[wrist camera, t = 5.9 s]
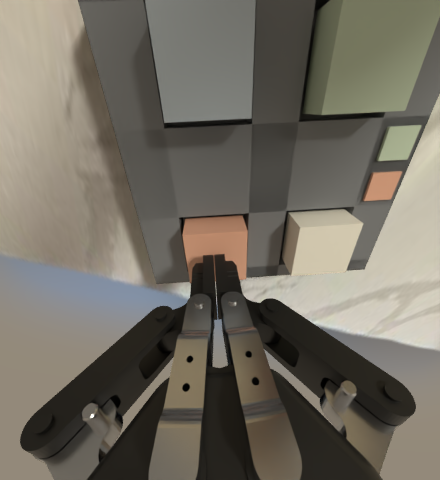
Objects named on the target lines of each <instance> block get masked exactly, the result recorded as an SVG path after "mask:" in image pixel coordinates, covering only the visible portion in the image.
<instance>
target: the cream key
mask: <svg viewBox="0 0 440 480" xmlns="http://www.w3.org/2000/svg"><path fill="white" fill-rule="evenodd" d="M363 224H364V223H362V222H361V221H359V220H358V219H357V218H355V217H354V216H353V215H351V214H350V213H349V212H347V211H346V210H345V209H329V210H313V211H297V212H288V216H287V223H286V230H285V237H284V244H283V250H282V259H283V261H284V263H285V265H286V267H287V269H288V271H289V273H290V275H291V276H300V275H314V274H328V273H342V272H346V270H347V267H348V264H349V262H350V259H351V256H352V254H353V251H354V248H355V245H356V243H357V240H358V237H359V235H360V232H361V229H362V226H363Z"/></svg>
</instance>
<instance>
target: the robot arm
mask: <svg viewBox="0 0 440 480" xmlns="http://www.w3.org/2000/svg"><path fill="white" fill-rule="evenodd" d="M214 259H215V273H214ZM215 275H216V289H215ZM216 290H217V305H218V318H219V319H222V331H223V337H224V343H225V349H226V356H227V362H228V366H225V367H223V368H215V367H213V339H214V320H217V305H216ZM264 349H265V350H266V351H267V352H268V353H270V354H271V355H272V356H273V357H274V358H275V359H276V360H277V361H278V362H280V363H281V364H282V365H283V366H284V367H285V368H286V369H287V370H289V371H290V372H291V373H292V374H293V375H294V376H295V377H296V378H298V379H299V380H300V381H301V382H302V383H303V384H304V385H306V386H307V387H308V388H309V389H310V390H311V391H312V392H313V393H314V394H316V395H317V396H318V397H319V398H320V406H321V409H322V411H323V413H324V415H325V416H326V418H327V419H328V420H329V421H330V422H331V423H332V424H331V423H330V422H329V421H328V420H327V419H326V418H324V416H323V415H321V413H320V412H319V411H318V410H317V409H315V407H313V406H312V405H311V404H310V403H309V402H308V401H307V400H306V399H305V398H304V397H303V396H302V395H301V394H300V393H299V392H298V391H297V390H296V389H295V388H294V387H293V386H292V385H291V384H290V383H289V382H288V381H287V380H286V379H285V378H284V377H283V376H282V375H280V374H279V373H278V372H276V371H274V370H272V369H270V367H269V364H268V360H267V357H266V354H265V351H264ZM173 357H174V359H173V363H172V368H171V373H170V377H169V378H168V379H166V380H165V381H164V382H163V383H162V384H161V385H160V386H159V387H158V388H157V389H156V390H155V392H154V393H153V394H152V395H151V397H150V398H149V399H148V401H147V402H146V403H145V404H144V406H143V407H142V409H141V410H140V411H139V412H138V414H137V415H136V416H135V418H134V419H133V420H132V421H131V423H130V424H129V425H128V427H127V428H126V429H125V431H124V432H123V433H122V434H121V436H120V437H119V438H118V436H119V435H120V432H121V429H122V426H123V415H124V414H125V413H126V412H127V410H129V408H130V407H131V406H132V405H133V404H134V403H135V401H136V400H137V399H138V398H139V397H140V395H141V394H142V393H143V392H144V391H145V390H146V388H147V387H148V386H149V385H150V384H151V383H152V381H153V380H154V379H155V378H156V377H157V376H158V374H159V373H160V372H161V371H162V370H163V369H164V367H165V366H166V365H167V364H168V363H169V362H170V360H171V359H172V358H173ZM415 409H416V405H415V402H414V398H413V396H412V395H411V393H410V392H409V391H408V389H407V388H406V387H405V386H404V385H403V384H402V383H400V382H399V381H398V380H396V379H395V378H393V377H392V376H390V375H389V374H387V373H386V372H384V371H383V370H381V369H380V368H378V367H377V366H375V365H374V364H372V363H371V362H369V361H368V360H366V359H365V358H363V357H362V356H361V355H359V354H358V353H356V352H355V351H353V350H352V349H350V348H349V347H347V346H345V345H344V344H343V343H341V342H340V341H338V340H337V339H335V338H334V337H332V336H331V335H329V334H328V333H326V332H325V331H323V330H322V329H320V328H319V327H317V326H316V325H314V324H313V323H311V322H310V321H308V320H307V319H305V318H304V317H302V316H301V315H299V314H298V313H296V312H295V311H293V310H292V309H290V308H289V307H287V306H286V305H284V304H283V303H281V302H280V301H278V300H276V299H265V300H263V301H262V302H261V303H257V302H252V301H250V300H248V299H246V298H245V297H244V296H243V294H242V290H241V285H240V280H239V275H238V270H237V265H236V264H235V263H234V262H233V261H225V254H216V255H214V258H213V255H203V263H196V264H195V265H194V267H193V268H192V281H191V294H190V298H189V300H188V301H187V303H186V304H185V305H184V306H182V307H180V308H177V309H175V310H172V309H171V308H170V307H168V306H160V307H157V308H155V309H154V310H152V311H151V312H150V313H149V314H148V315H147V316H145V317H144V318H143V319H142V320H141V321H140V322H139V323H137V324H136V325H135V326H134V327H133V328H132V329H131V330H130V331H128V332H127V333H126V334H125V335H124V336H123V337H121V338H120V339H119V340H118V341H117V342H116V343H115V344H113V346H111V347H110V348H109V349H108V350H107V351H106V352H104V353H103V354H102V355H101V356H100V357H99V358H97V359H96V360H95V361H94V362H93V363H92V364H91V365H90V366H88V367H87V368H86V369H85V370H84V371H83V372H82V373H80V374H79V375H78V376H77V377H76V378H75V379H74V380H72V381H71V382H70V383H69V384H68V385H67V386H66V387H64V388H63V389H62V390H61V391H60V392H59V393H58V394H57V395H55V396H54V397H53V398H52V399H51V400H50V401H48V402H47V403H46V404H45V405H44V406H43V407H42V408H41V409H39V410H38V411H37V412H36V413H35V414H34V415H33V416H32V417H31V418H30V420H29V421H28V422H27V424H26V425H25V427H24V429H23V431H22V434H21V439H20V443H21V446H22V448H23V449H24V450H25V451H27V452H29V453H31V454H33V456H34V457H35V458H36V459H38V460H39V461H41V462H43V463H45V464H46V465H47V467H48V469H49V471H50V472H51V474H52V476H53V478H54V480H382V478H381V477H380V475H379V474H380V471H381V468H382V465H383V462H384V459H385V456H386V453H387V450H388V447H389V444H390V441H391V438H392V435H393V432H394V430H396V429H397V428H398V427H399V426H400V425H401V424H402V423H403V422H405V421H406V420H407V419H408V418H409V417H410V416H411V415H413V414H414V412H415ZM117 438H118V440H117V441H116V439H117ZM115 441H116V442H115ZM114 442H115V443H114ZM113 444H114V445H113Z"/></svg>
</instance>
